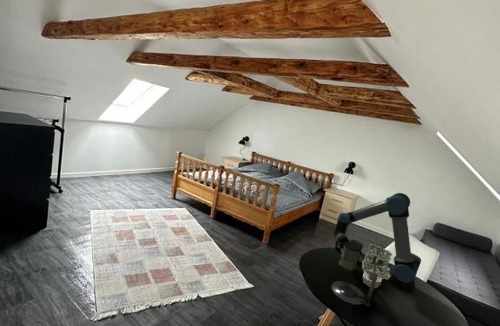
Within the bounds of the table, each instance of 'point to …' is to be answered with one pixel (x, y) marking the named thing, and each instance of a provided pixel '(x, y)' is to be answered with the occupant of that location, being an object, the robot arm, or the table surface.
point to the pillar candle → (357, 243)
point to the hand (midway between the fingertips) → (352, 257)
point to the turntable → (348, 292)
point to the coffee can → (350, 255)
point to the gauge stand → (374, 278)
